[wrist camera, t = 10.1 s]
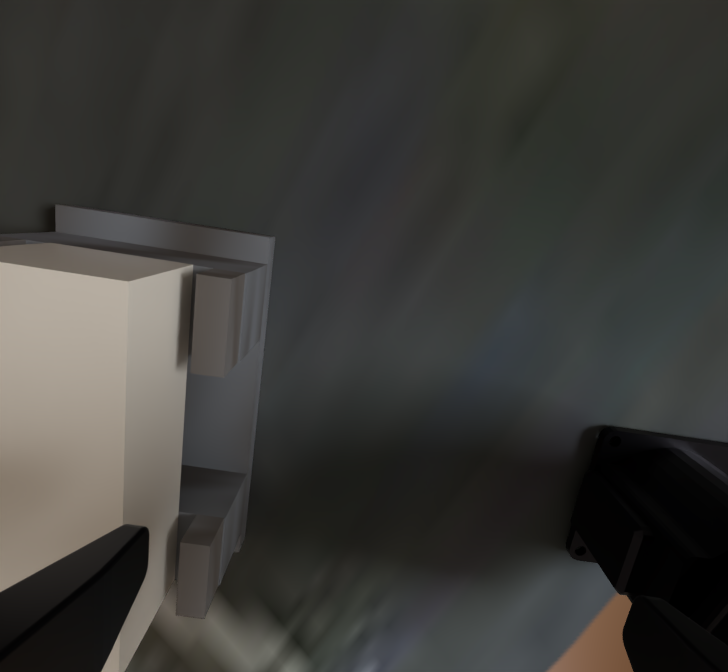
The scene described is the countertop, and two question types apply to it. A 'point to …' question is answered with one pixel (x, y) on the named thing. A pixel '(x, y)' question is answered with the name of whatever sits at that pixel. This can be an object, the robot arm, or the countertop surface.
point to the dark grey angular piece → (200, 373)
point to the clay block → (91, 411)
